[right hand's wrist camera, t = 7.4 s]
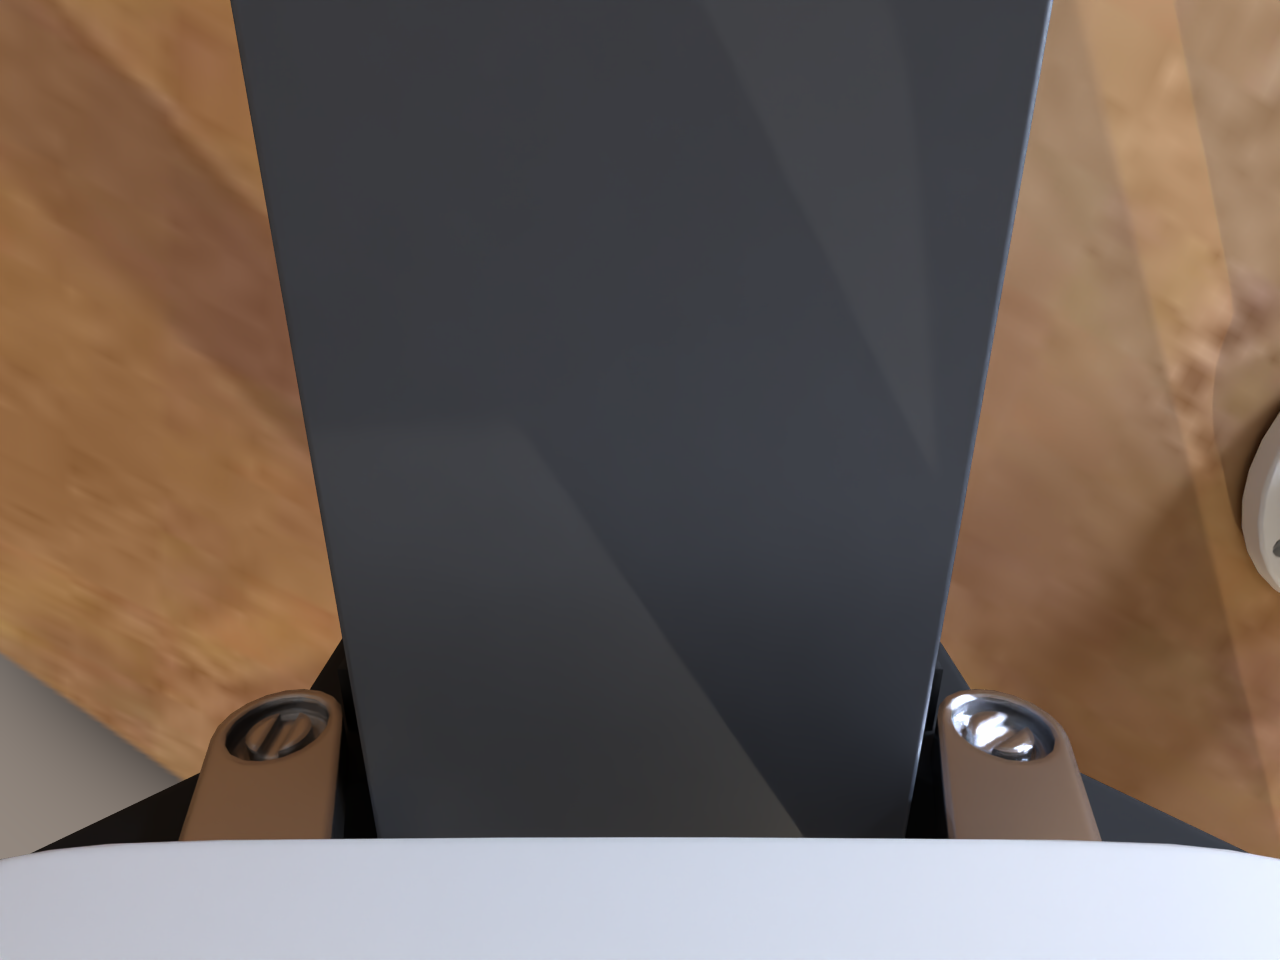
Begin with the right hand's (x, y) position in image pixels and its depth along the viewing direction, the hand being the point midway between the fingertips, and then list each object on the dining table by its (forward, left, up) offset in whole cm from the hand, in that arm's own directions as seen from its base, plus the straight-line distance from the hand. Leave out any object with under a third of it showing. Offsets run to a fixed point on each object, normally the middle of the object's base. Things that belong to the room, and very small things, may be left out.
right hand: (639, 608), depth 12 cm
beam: (-16, -28, -3) cm, 33 cm away
